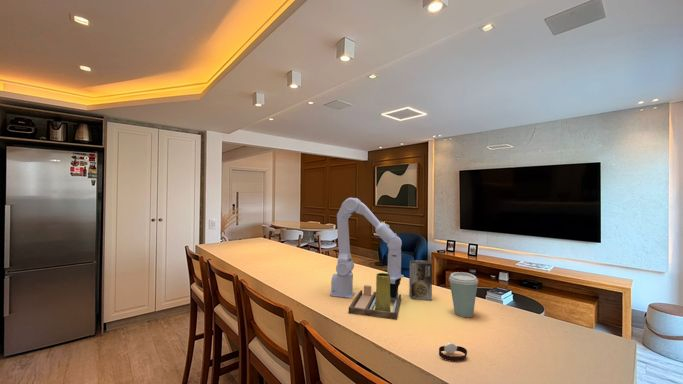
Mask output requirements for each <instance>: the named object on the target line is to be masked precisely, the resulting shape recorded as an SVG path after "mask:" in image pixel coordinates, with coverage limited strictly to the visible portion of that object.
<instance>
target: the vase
mask: <svg viewBox="0 0 683 384" xmlns="http://www.w3.org/2000/svg"><path fill="white" fill-rule="evenodd" d="M375 276H376V280H375V281H376V283H375V292H376V301H375V306H374V310H379V311H386V312H392V310H391V300H390V274H388V272H387V273H386V272H378V273H376V275H375Z"/></svg>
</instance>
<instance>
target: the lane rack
mask: <svg viewBox="0 0 683 384" xmlns="http://www.w3.org/2000/svg"><path fill="white" fill-rule="evenodd" d="M362 294H363V290H362V289H361V290H360V291H359V292H358V293H357V295H356V296H355V297H354V299H353V301H352V302H351V303H350V305H349V306H348V314H351V315H357V316H358V315H360V316H366V317H371V318H382V319H388V320H395V321H397V320H398V317H399V311H400V306H401V302H402V294H398V302H397V306H396V310H395V313H394V312H392V311H391V312H386V311H379V310H375V309H373V310H371V309H370V307H371V305H372V303H373V301H374V299H375V297H376V291H373V293H372V294H371V295H372V297H371V299H370V301H369V303H368V304H367V306H366V308H365V309H363V308H356V307H355V305H356V304H357V302H358V300H359V299H360V297H361V296H362Z"/></svg>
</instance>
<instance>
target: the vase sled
mask: <svg viewBox="0 0 683 384" xmlns="http://www.w3.org/2000/svg"><path fill="white" fill-rule="evenodd" d="M398 298H399V288H398V289H397V295H396V298H391V296H390V301H394V304H393V307H392V310H391V312H394V313H395V310H396V306H397V302H398ZM375 301H376V297H375V299H374V301H373V303H372V305H371V307H370V309H371V310H374V309H375Z"/></svg>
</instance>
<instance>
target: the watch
mask: <svg viewBox="0 0 683 384" xmlns="http://www.w3.org/2000/svg"><path fill="white" fill-rule="evenodd" d="M443 352H445V353H447V354H445V353H443ZM455 352H460V353H462V354H464V355H452V354H454V353H455ZM448 354H451V355H448ZM438 355H439V357H440V358H441V359H442V360H445V359H446V360H445V361H449V360H450V361H449V362H462V361H465V360H466V359H467V356H468V350H467V349H466V348H465V347H463V346H460V345H456V344H455V343H453V342H448V343H446V344H445V345H442V346H439V348H438Z"/></svg>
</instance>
